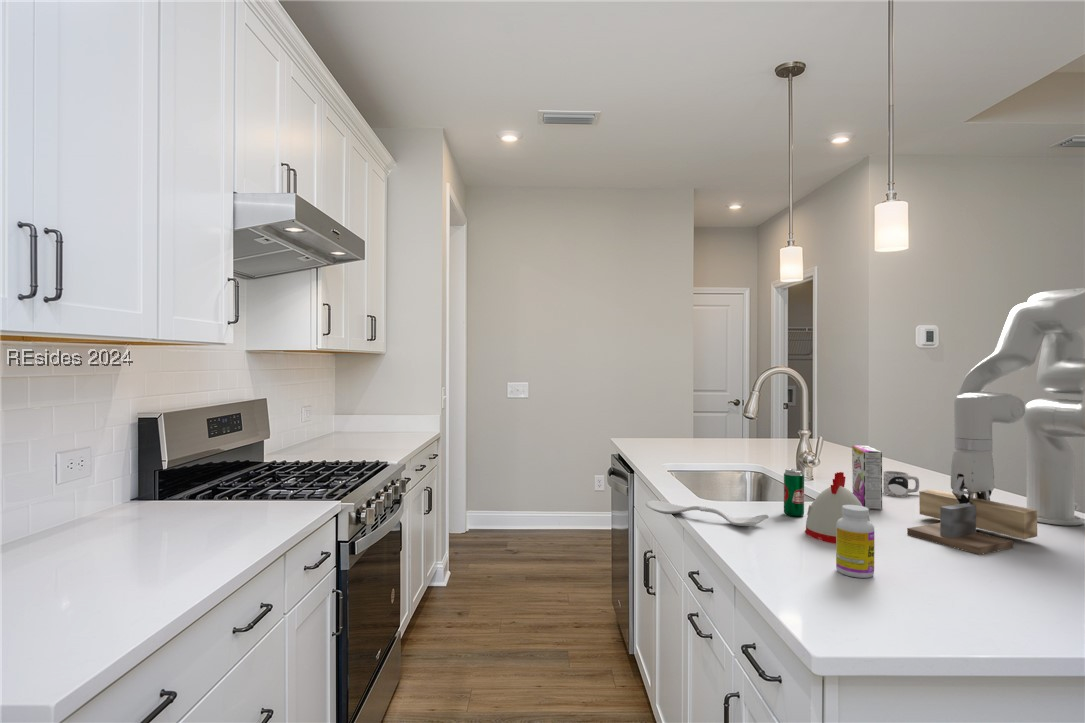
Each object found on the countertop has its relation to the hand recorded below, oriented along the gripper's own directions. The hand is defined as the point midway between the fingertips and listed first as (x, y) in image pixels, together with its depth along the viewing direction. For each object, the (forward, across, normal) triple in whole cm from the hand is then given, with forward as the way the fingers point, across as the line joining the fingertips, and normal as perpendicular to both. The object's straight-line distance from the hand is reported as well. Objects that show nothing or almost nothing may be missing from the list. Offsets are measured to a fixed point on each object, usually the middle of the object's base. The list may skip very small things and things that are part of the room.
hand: (974, 518), depth 145 cm
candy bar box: (+3, +2, -28) cm, 28 cm away
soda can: (+2, +30, -28) cm, 41 cm away
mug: (+4, -20, -33) cm, 39 cm away
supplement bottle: (+2, +53, +9) cm, 53 cm away
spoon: (+2, +55, -35) cm, 65 cm away
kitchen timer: (+2, +35, -10) cm, 36 cm away
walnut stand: (+3, +13, +4) cm, 13 cm away
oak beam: (+2, 0, 0) cm, 2 cm away
